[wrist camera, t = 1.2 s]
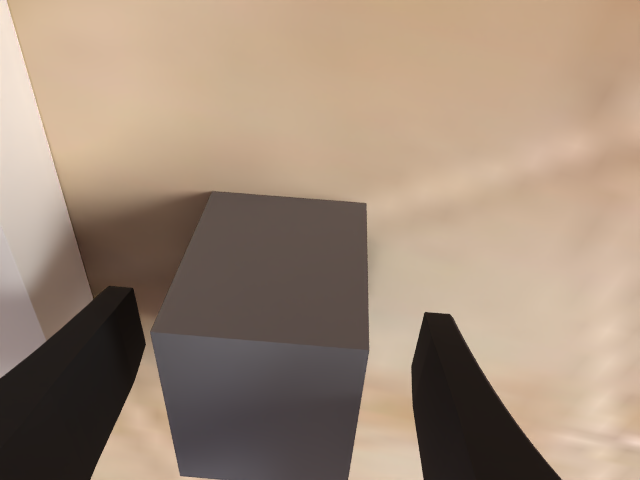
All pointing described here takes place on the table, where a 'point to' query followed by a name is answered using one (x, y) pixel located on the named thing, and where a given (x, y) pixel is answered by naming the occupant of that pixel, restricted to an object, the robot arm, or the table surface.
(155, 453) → the table surface
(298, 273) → the plug
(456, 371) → the robot arm
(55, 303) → the socket
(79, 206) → the table surface
